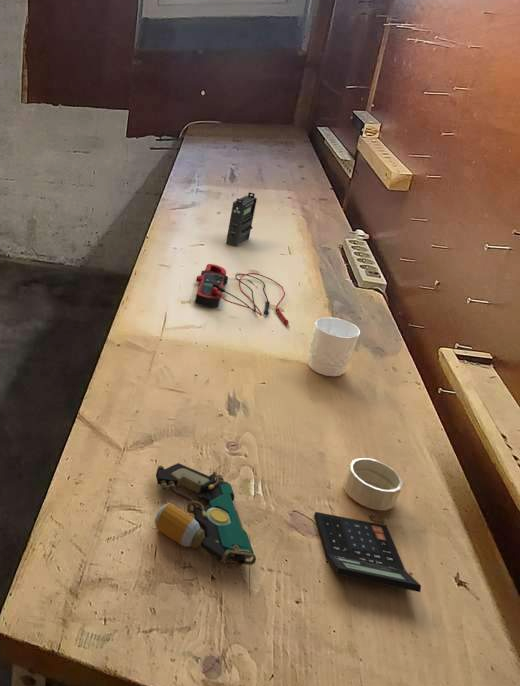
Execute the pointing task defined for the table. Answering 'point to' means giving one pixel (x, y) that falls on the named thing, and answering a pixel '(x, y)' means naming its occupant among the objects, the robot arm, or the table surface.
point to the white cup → (332, 345)
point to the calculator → (363, 551)
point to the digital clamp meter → (213, 288)
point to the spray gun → (204, 515)
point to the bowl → (373, 484)
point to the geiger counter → (241, 219)
